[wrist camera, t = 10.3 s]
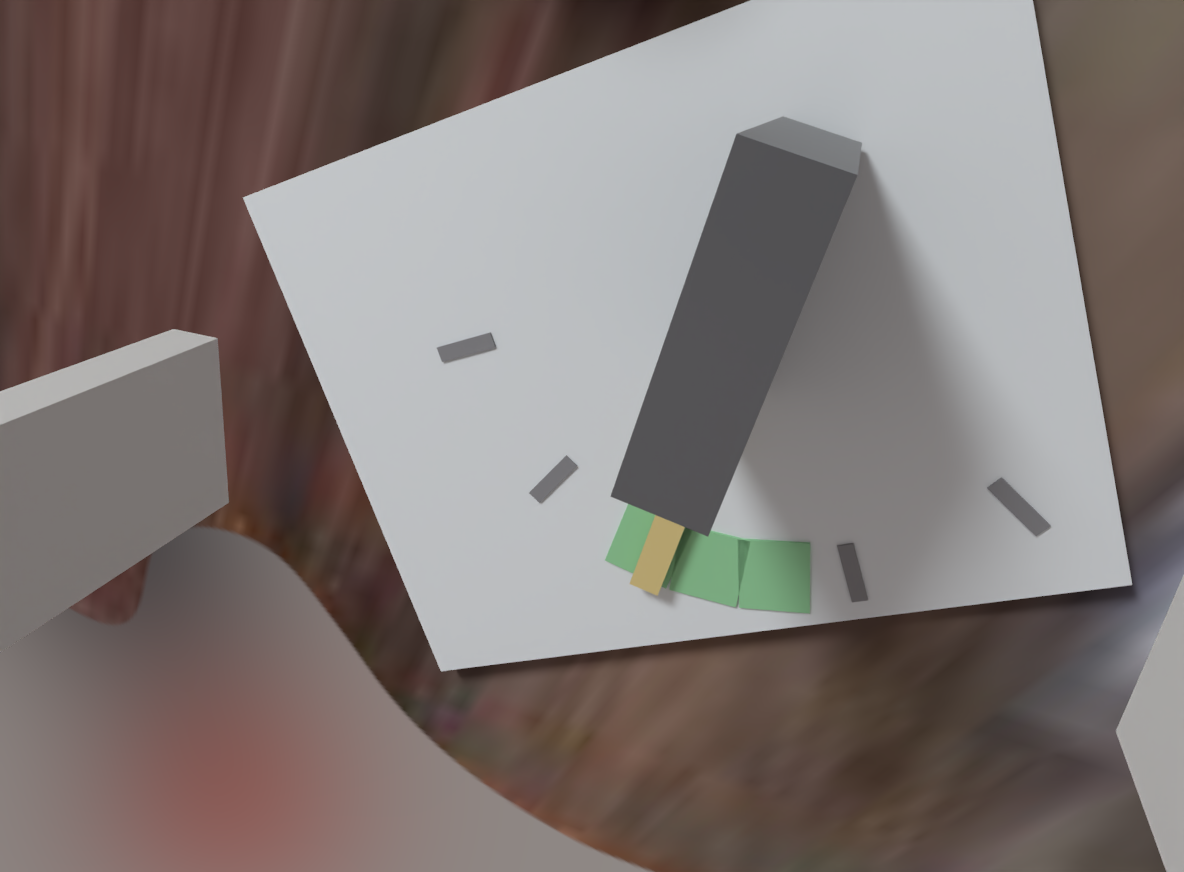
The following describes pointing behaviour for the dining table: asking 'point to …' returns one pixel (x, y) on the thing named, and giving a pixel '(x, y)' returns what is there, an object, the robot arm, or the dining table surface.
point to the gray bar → (732, 327)
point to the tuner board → (646, 307)
